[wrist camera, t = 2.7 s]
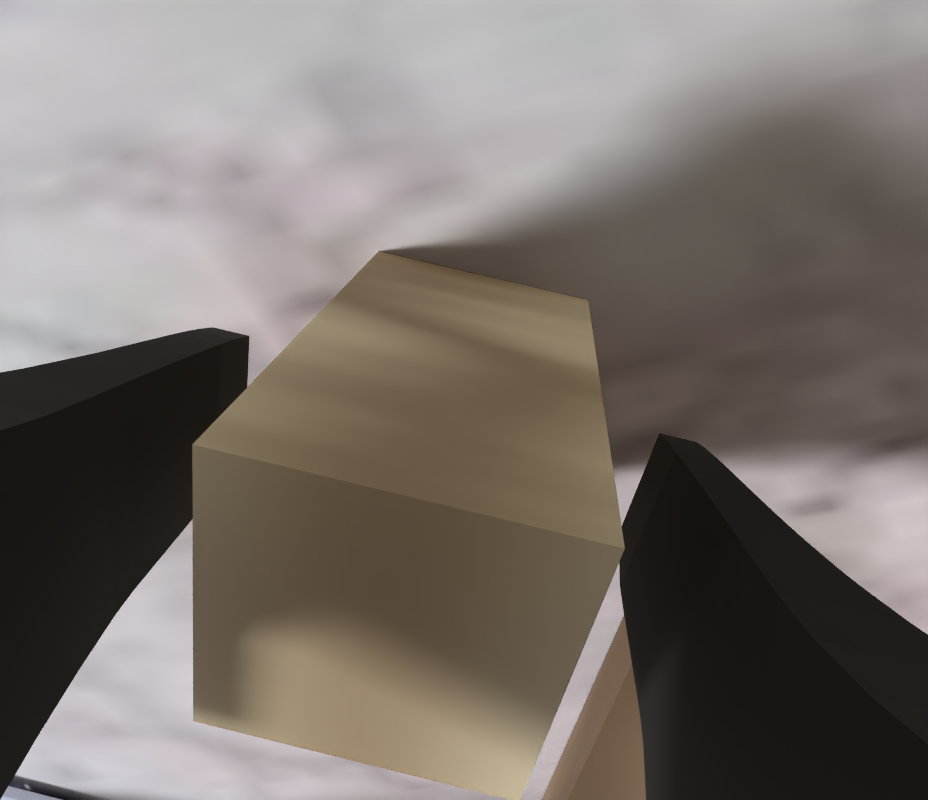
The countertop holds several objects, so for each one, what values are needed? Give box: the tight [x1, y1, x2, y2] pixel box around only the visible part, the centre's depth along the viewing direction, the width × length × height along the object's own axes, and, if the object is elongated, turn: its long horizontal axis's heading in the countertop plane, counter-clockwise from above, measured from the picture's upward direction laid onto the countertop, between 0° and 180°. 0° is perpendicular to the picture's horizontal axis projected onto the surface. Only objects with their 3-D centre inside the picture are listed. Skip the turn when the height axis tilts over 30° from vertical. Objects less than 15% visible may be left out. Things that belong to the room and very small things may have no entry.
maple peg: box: [192, 251, 625, 800], centre depth 10 cm, size 4×4×7 cm
